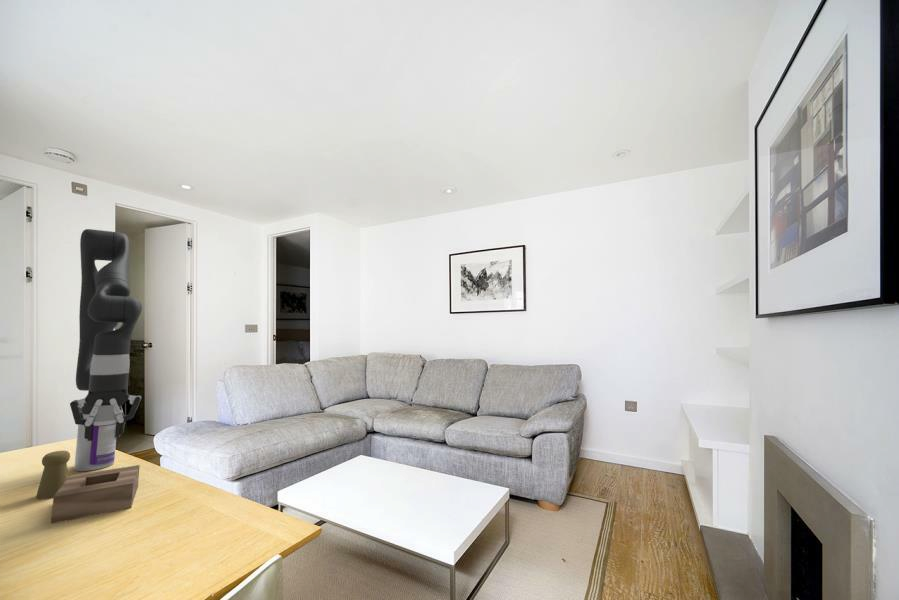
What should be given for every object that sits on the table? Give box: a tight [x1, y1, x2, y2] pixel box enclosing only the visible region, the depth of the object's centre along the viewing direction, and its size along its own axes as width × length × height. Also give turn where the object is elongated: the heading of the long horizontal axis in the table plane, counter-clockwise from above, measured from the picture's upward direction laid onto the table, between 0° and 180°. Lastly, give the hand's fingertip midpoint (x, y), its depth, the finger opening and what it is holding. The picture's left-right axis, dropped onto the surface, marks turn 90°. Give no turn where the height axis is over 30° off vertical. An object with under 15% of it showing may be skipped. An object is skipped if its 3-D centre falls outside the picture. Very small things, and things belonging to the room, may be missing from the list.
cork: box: [35, 450, 71, 500], centre depth 99 cm, size 6×6×11 cm
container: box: [89, 405, 118, 467], centre depth 95 cm, size 5×5×15 cm
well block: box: [50, 464, 141, 524], centre depth 94 cm, size 14×14×6 cm
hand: (104, 438), depth 95 cm, fingers closed on container, 4 cm apart
